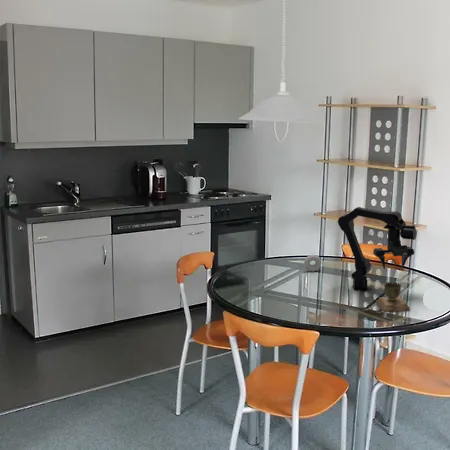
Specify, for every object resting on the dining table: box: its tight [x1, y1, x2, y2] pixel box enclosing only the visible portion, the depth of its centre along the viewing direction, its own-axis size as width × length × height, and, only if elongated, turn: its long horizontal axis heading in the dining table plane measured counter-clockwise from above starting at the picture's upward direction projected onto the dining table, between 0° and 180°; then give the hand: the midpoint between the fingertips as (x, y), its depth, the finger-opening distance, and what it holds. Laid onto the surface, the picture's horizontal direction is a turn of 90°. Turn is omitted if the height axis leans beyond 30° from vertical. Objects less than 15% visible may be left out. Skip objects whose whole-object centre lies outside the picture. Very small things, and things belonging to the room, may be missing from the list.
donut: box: [303, 254, 322, 273], centre depth 329 cm, size 10×4×10 cm, turn 97°
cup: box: [383, 281, 402, 301], centre depth 270 cm, size 8×7×8 cm
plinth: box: [375, 295, 411, 313], centre depth 271 cm, size 12×12×3 cm
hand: (393, 268), depth 286 cm, fingers open, 9 cm apart
